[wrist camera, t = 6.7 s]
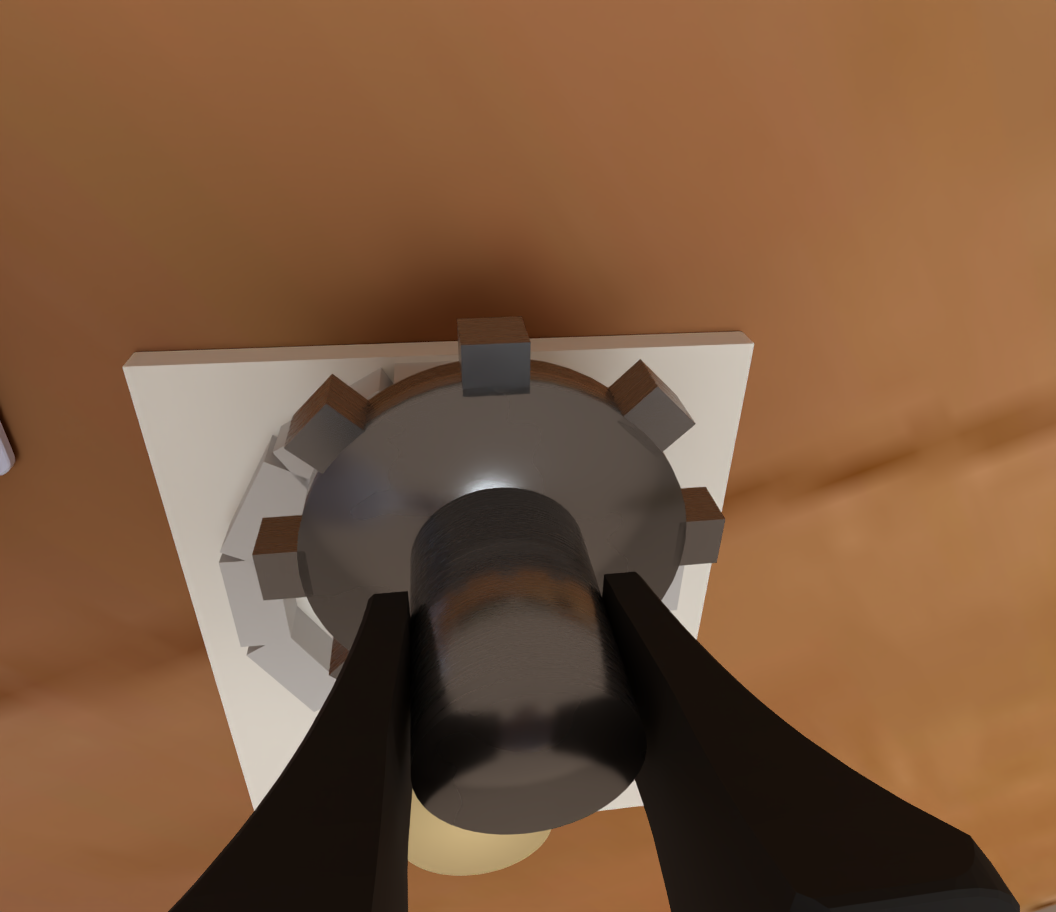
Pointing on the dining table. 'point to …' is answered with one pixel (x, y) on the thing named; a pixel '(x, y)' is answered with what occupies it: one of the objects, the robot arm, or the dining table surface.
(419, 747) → the gear
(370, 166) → the dining table surface
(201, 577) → the carrier plate
